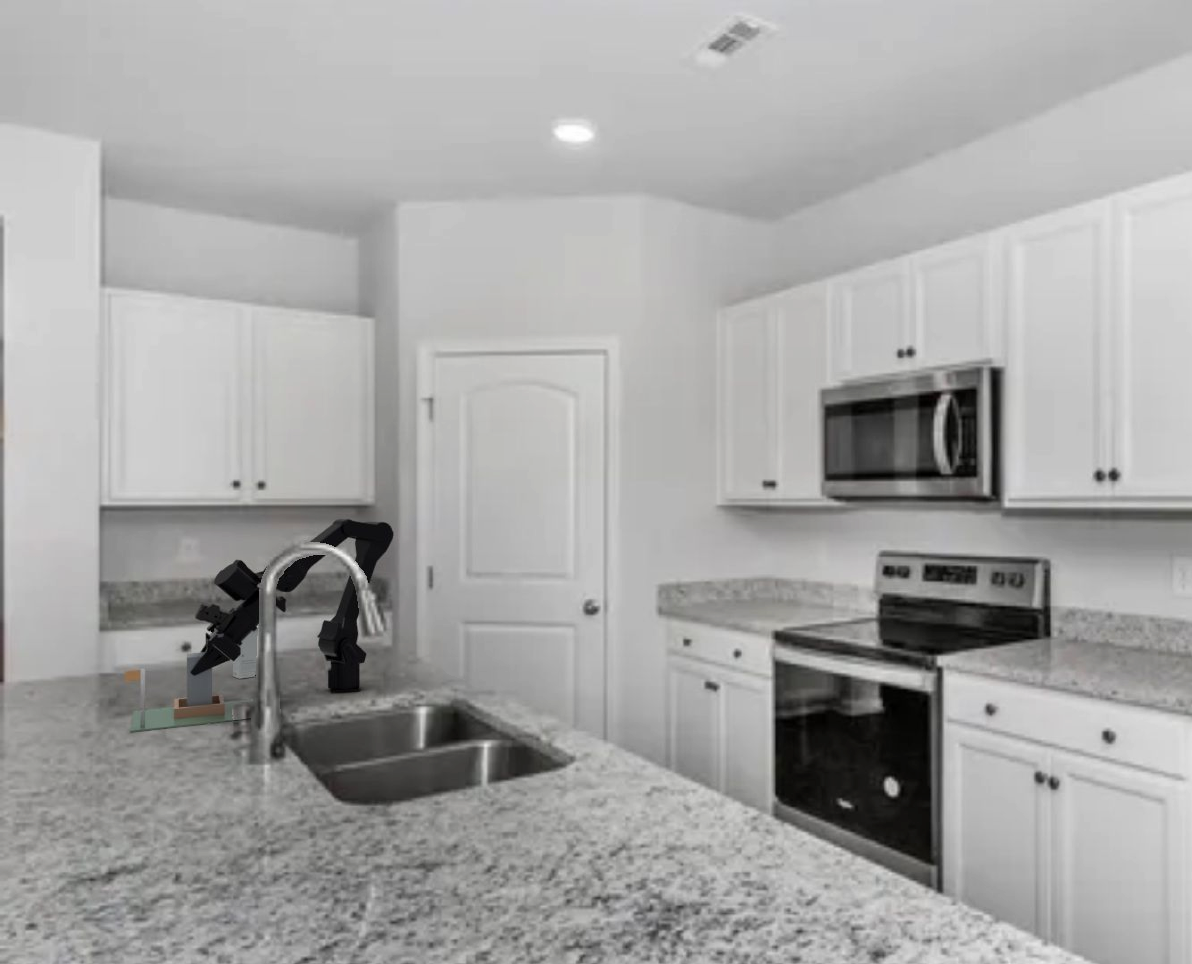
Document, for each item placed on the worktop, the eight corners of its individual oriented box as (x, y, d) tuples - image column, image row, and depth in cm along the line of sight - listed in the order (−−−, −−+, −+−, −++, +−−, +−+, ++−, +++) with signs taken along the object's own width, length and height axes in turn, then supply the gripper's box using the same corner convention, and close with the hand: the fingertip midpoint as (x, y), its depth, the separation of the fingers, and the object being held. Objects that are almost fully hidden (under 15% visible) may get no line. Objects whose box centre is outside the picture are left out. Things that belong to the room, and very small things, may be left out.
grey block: (211, 699, 182) (211, 651, 182) (212, 704, 178) (212, 655, 178) (186, 702, 180) (186, 653, 180) (187, 707, 176) (186, 657, 176)
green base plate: (259, 699, 190) (259, 647, 190) (266, 717, 175) (266, 660, 175) (128, 713, 179) (128, 657, 179) (124, 732, 164) (124, 672, 165)
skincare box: (239, 679, 210) (239, 628, 210) (232, 676, 213) (232, 626, 213) (264, 675, 214) (264, 625, 214) (257, 672, 217) (257, 623, 217)
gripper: (218, 583, 189) (161, 638, 185) (222, 593, 173) (159, 654, 168) (257, 617, 193) (202, 672, 188) (265, 630, 176) (205, 691, 171)
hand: (191, 671), depth 179 cm, fingers closed on grey block, 5 cm apart
